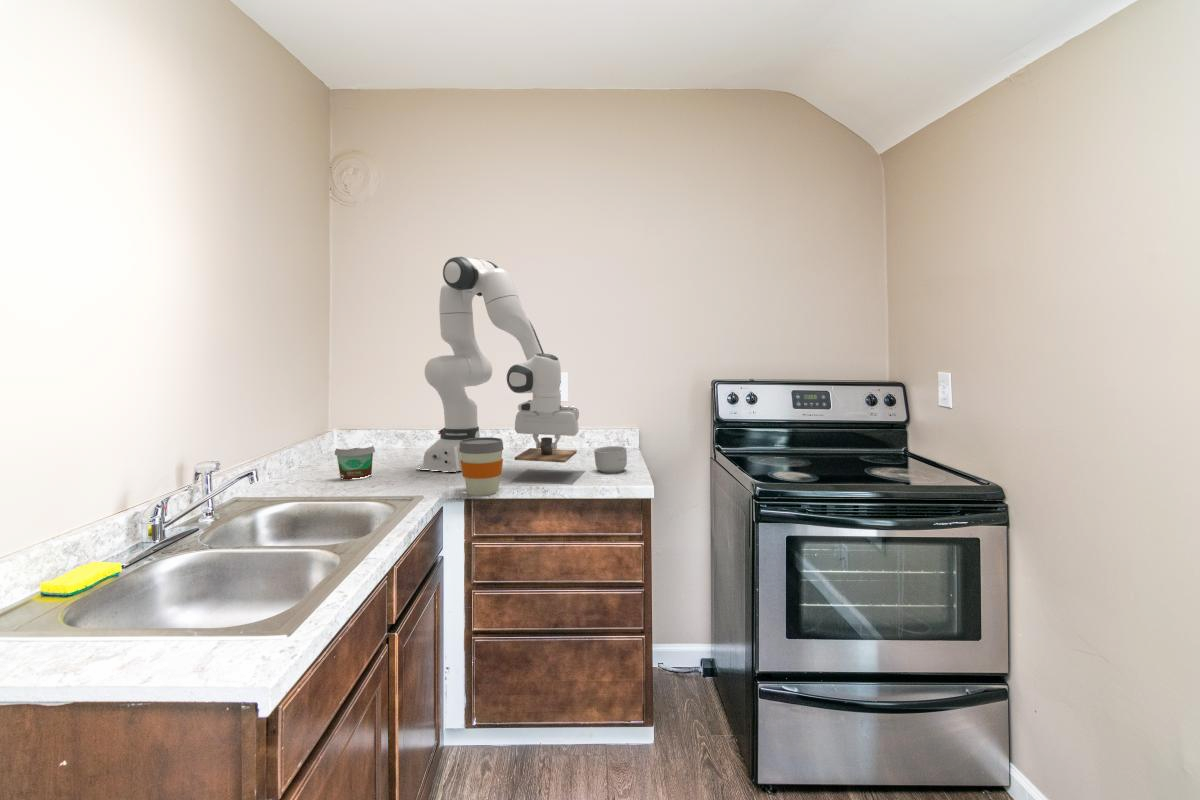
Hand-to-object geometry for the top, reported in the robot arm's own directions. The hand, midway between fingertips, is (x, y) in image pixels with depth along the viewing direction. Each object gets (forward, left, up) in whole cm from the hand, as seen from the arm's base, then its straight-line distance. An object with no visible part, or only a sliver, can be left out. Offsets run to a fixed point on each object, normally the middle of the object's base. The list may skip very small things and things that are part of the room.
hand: (546, 448), depth 196 cm
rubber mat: (+1, 0, -9) cm, 9 cm away
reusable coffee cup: (-13, -21, -10) cm, 27 cm away
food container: (-60, -10, -10) cm, 62 cm away
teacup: (+19, +13, -10) cm, 25 cm away
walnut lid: (0, 0, -3) cm, 2 cm away
